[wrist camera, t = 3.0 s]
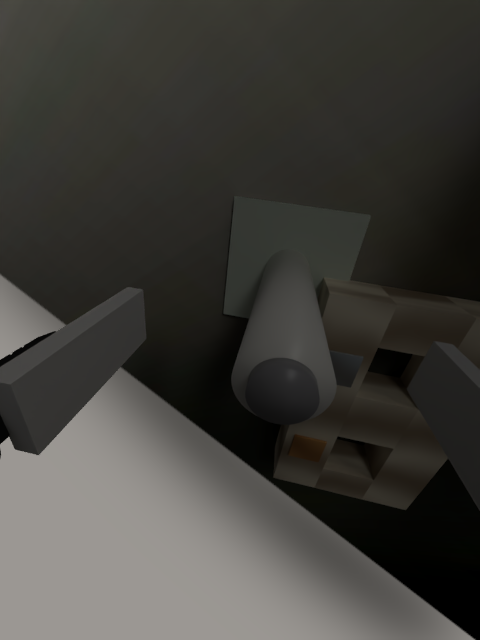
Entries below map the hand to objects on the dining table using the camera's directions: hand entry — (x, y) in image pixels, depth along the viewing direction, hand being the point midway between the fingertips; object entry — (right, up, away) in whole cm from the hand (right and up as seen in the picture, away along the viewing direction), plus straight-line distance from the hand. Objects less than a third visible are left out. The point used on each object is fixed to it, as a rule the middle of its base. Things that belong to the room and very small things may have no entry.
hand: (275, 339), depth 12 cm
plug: (+2, +5, +9) cm, 11 cm away
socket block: (+11, -6, +14) cm, 19 cm away
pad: (+2, +5, +10) cm, 11 cm away
